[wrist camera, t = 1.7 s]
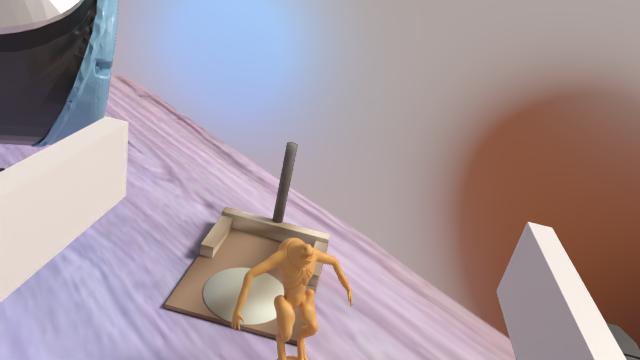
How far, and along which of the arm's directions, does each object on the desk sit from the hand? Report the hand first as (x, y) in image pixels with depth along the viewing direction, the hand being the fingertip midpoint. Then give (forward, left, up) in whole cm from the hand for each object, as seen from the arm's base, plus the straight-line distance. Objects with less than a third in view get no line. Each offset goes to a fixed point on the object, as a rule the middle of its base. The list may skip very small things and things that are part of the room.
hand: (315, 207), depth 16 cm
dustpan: (-5, +21, -20) cm, 30 cm away
